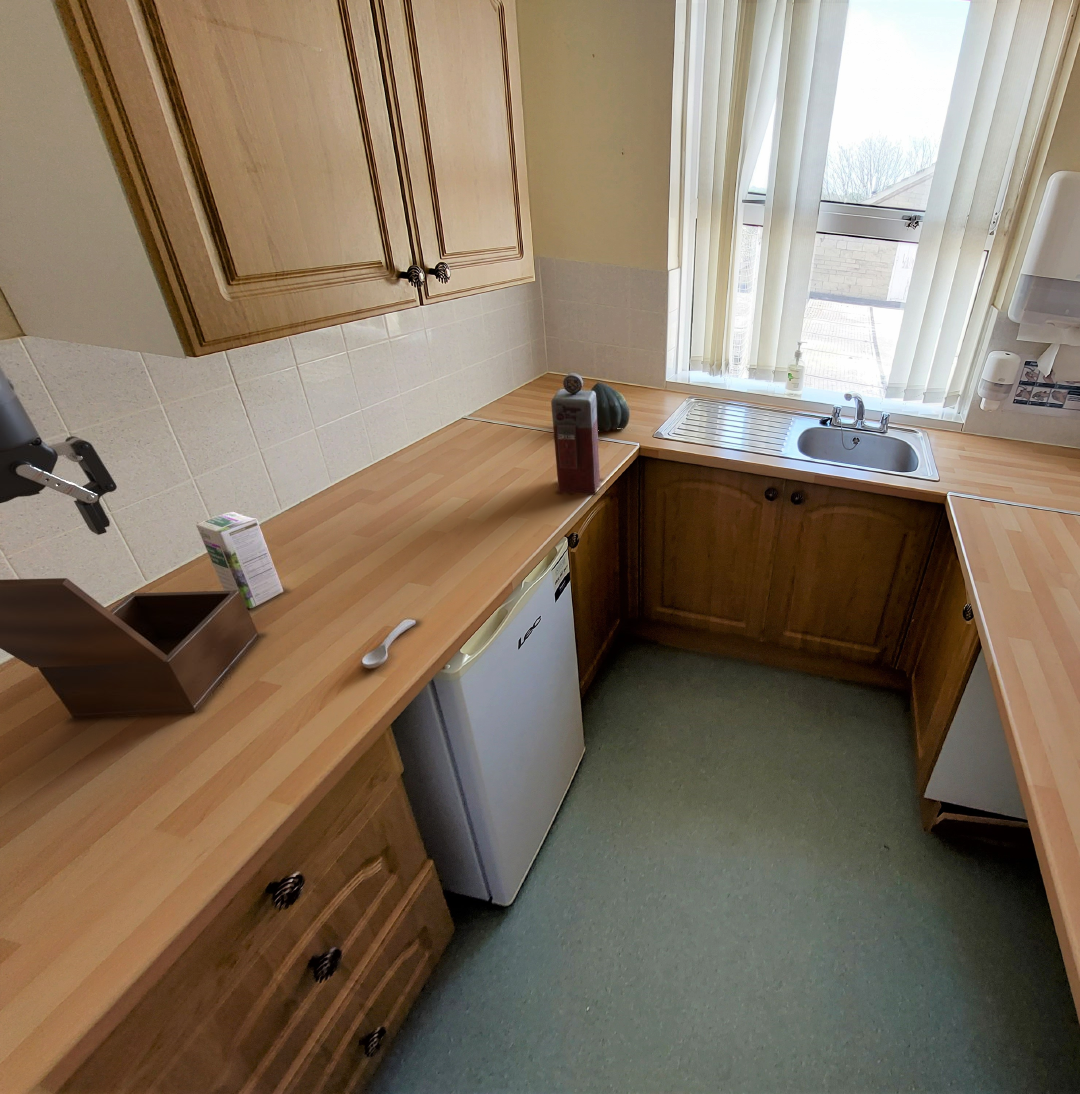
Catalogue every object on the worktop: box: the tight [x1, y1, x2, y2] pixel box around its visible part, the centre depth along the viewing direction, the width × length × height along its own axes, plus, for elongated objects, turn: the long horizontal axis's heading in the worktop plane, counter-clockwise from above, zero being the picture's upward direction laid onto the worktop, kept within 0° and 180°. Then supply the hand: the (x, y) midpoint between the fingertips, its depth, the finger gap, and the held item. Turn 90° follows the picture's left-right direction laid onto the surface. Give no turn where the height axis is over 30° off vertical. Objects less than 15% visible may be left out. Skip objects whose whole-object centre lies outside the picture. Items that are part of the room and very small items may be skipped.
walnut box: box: [37, 590, 260, 720], centre depth 78 cm, size 16×14×9 cm
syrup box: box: [195, 511, 284, 609], centre depth 93 cm, size 6×6×14 cm
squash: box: [589, 381, 631, 433], centre depth 180 cm, size 14×15×15 cm
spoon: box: [361, 618, 416, 669], centre depth 88 cm, size 3×12×2 cm, turn 178°
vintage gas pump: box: [550, 372, 601, 495], centre depth 136 cm, size 9×11×28 cm
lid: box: [0, 577, 167, 668], centre depth 63 cm, size 16×14×1 cm
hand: (45, 548), depth 60 cm, fingers open, 8 cm apart
